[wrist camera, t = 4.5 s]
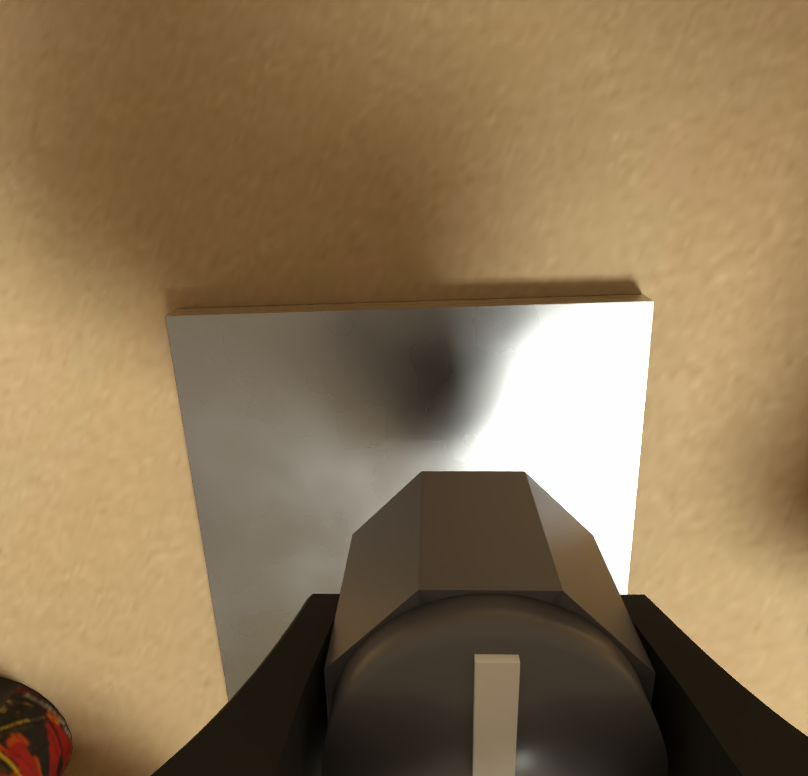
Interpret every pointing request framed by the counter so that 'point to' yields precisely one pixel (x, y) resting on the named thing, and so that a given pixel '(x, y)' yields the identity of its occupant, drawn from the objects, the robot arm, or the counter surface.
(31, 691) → the deodorant
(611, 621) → the knob
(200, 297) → the counter surface
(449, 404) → the panel
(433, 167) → the counter surface
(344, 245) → the counter surface
